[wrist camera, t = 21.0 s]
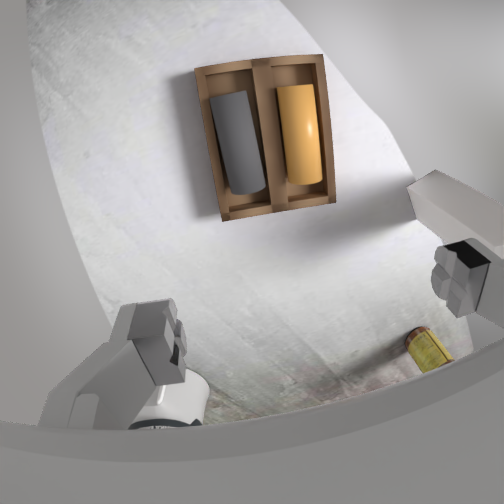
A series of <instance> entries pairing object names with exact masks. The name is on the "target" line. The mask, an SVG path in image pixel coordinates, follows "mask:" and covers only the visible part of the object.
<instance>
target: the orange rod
mask: <svg viewBox="0 0 504 504" xmlns="http://www.w3.org/2000/svg"><path fill="white" fill-rule="evenodd" d="M276 88H277V95H278V102H279V109H280V117H281V125H282V132H283V140H284V149H285V157H286V166H287V174H288V182H289V183H292V184H297V185H307V184H314V183H317V182H320V181H321V180H322V167H321V155H320V143H319V133H318V123H317V113H316V104H315V96H314V88H313V84H310V85H297V86H286V87H276Z"/></svg>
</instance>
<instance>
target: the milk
mask: <svg viewBox="0 0 504 504" xmlns="http://www.w3.org/2000/svg"><path fill="white" fill-rule="evenodd" d="M407 190H408V193H409V196H410V199H411V202H412V206H413V209H414V212H415V215H416V219H417V220H418V221H419V222H421V223H422V224H423V225H424V226H426V227H427V228H428V229H430V230H431V231H432V232H433V233H435V234H436V235H437V236H438V237H440V238H441V239H442V240H443V241H445V242H446V243H447V244H451V243H455V242H459V241H461V240H465V239H468V238H475V239H477V240H478V241H479V242H481V243H482V244H483V245H485V246H486V247H487V248H489V249H490V250H491V251H493V252H494V253H495V254H496V255H498V256H499V257H500V258H501V259H504V205H502V204H501V203H499V202H497V201H495V200H494V199H492V198H490V197H488V196H486V195H485V194H483V193H481V192H479V191H477V190H475V189H474V188H472V187H470V186H468V185H466V184H464V183H462V182H460V181H458V180H456V179H454V178H452V177H450V176H448V175H446V174H444V173H442V172H440V171H438V170H434V171H432V172H431V173H429V174H427V175H426V176H424V177H423V178H421V179H419V180H418V181H416V182H414V183H413V184H411V185H409V186H408V187H407Z"/></svg>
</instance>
